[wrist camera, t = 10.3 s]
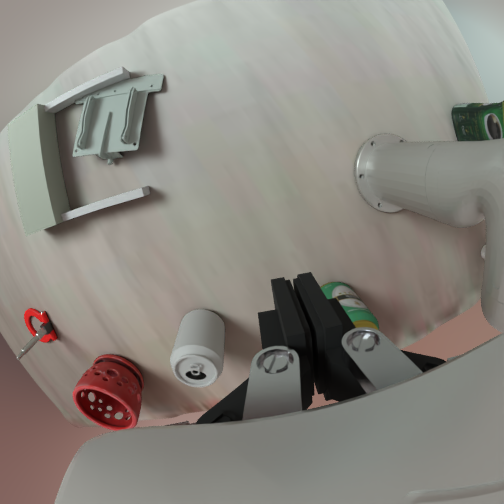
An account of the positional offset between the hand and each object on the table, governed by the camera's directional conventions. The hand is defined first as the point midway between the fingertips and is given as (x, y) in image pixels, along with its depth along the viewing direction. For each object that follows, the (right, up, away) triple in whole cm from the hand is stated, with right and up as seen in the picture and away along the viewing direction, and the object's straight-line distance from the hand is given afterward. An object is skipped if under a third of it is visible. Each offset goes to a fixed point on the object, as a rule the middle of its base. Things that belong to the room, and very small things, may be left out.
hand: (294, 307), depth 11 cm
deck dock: (-30, +18, +23) cm, 42 cm away
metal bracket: (-22, +23, +23) cm, 39 cm away
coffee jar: (+39, +26, +24) cm, 53 cm away
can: (-10, -10, +34) cm, 36 cm away
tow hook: (-48, -13, +33) cm, 60 cm away
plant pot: (-29, -22, +37) cm, 52 cm away
